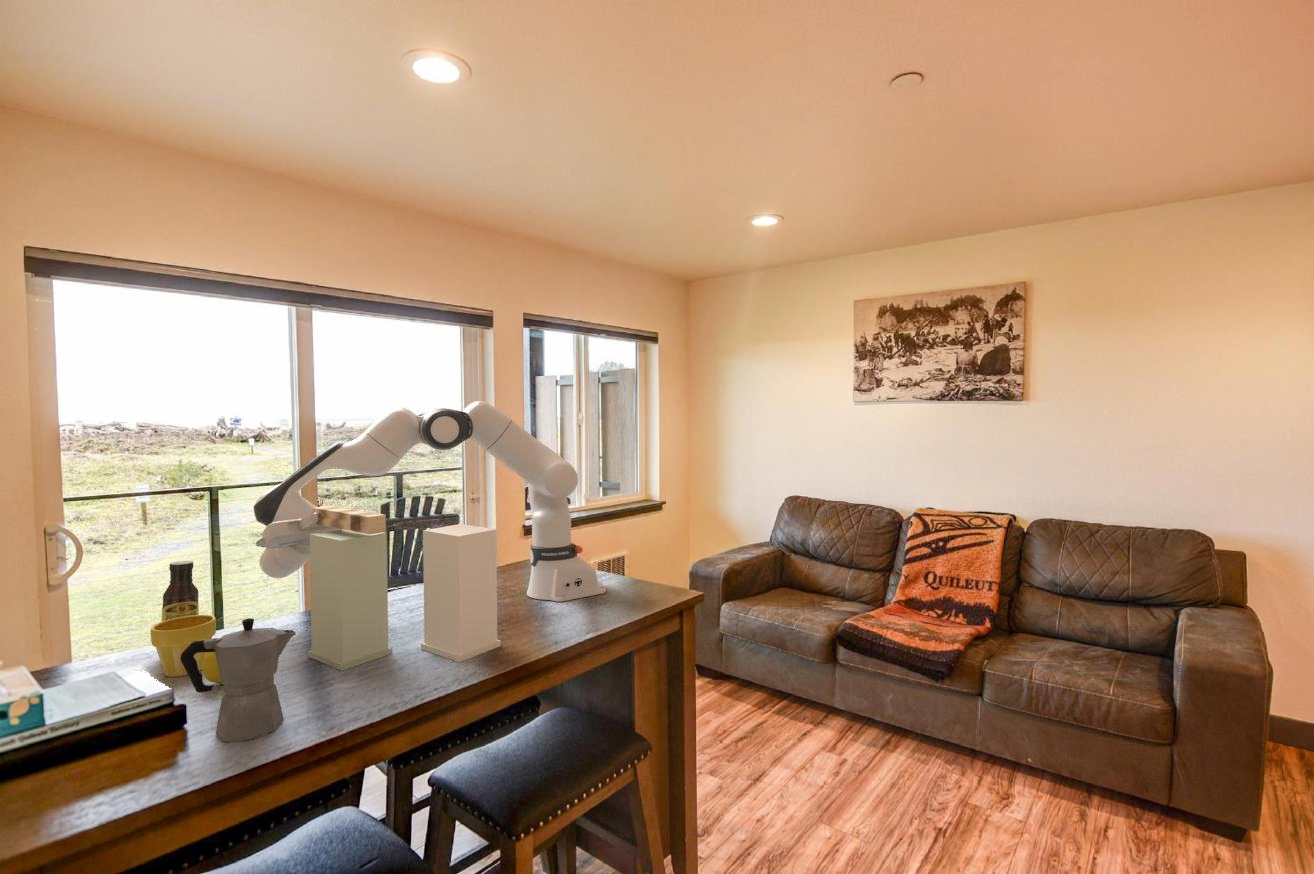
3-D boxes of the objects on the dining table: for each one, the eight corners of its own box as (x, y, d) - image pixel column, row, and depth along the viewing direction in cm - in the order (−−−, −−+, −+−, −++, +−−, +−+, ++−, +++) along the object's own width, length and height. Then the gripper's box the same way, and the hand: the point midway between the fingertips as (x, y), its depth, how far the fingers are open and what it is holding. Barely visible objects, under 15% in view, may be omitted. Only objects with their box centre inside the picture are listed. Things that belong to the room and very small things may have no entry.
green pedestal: (308, 656, 132) (306, 534, 131) (358, 641, 141) (356, 526, 140) (341, 670, 124) (339, 541, 123) (391, 653, 133) (390, 532, 133)
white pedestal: (421, 649, 136) (419, 530, 135) (462, 634, 145) (461, 523, 144) (459, 662, 129) (458, 536, 128) (500, 645, 138) (499, 529, 137)
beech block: (312, 523, 136) (311, 507, 136) (328, 521, 139) (328, 505, 139) (369, 534, 124) (368, 517, 124) (385, 531, 127) (385, 514, 127)
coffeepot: (296, 706, 109) (294, 604, 108) (298, 729, 101) (296, 619, 100) (186, 730, 101) (183, 620, 100) (179, 757, 93) (175, 637, 92)
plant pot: (161, 665, 127) (160, 617, 127) (222, 657, 131) (221, 611, 131) (144, 685, 118) (142, 633, 117) (210, 675, 122) (209, 626, 122)
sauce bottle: (162, 663, 128) (159, 567, 127) (160, 655, 133) (157, 562, 132) (201, 655, 132) (199, 562, 132) (198, 647, 137) (196, 557, 136)
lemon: (195, 688, 116) (194, 645, 116) (226, 676, 121) (225, 636, 121) (215, 693, 114) (214, 649, 114) (245, 681, 119) (244, 639, 119)
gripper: (249, 534, 135) (275, 506, 128) (341, 521, 152) (369, 496, 145) (256, 561, 133) (283, 534, 126) (349, 544, 150) (377, 520, 143)
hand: (329, 514), depth 136 cm, fingers closed on beech block, 3 cm apart
